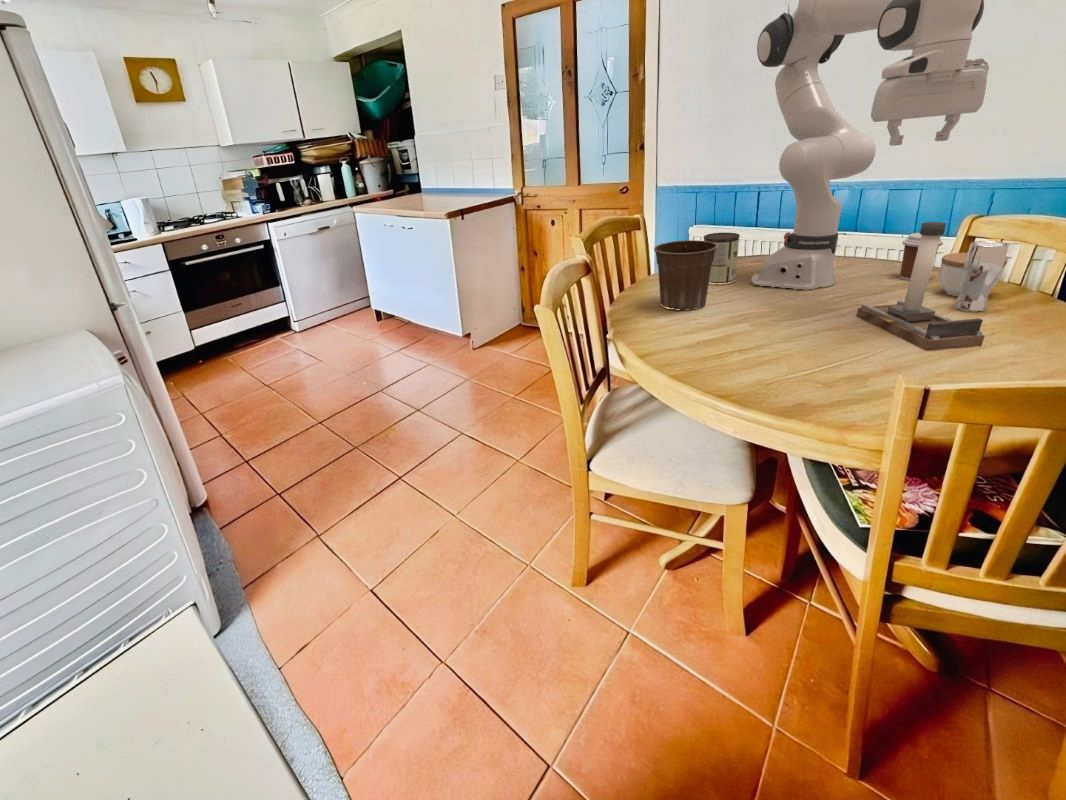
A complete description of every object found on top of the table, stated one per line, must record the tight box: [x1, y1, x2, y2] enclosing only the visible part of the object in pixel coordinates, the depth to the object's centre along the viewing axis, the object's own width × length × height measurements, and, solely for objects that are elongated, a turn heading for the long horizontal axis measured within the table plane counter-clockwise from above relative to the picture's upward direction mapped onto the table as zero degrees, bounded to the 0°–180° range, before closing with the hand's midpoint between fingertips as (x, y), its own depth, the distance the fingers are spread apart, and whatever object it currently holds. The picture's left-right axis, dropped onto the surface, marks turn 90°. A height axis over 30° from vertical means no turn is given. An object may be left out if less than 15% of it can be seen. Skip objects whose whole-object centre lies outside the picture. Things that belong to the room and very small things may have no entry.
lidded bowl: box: [938, 252, 1008, 298], centre depth 126 cm, size 13×13×11 cm
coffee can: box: [703, 232, 740, 283], centre depth 156 cm, size 10×10×14 cm
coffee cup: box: [899, 232, 944, 281], centre depth 142 cm, size 9×9×12 cm
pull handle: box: [887, 221, 947, 322], centre depth 107 cm, size 6×6×20 cm
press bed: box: [856, 300, 986, 351], centre depth 110 cm, size 23×11×5 cm, turn 2°
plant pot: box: [653, 239, 718, 310], centre depth 137 cm, size 16×16×16 cm
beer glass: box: [952, 240, 1010, 313], centre depth 116 cm, size 7×7×15 cm
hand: (918, 143), depth 103 cm, fingers open, 8 cm apart
